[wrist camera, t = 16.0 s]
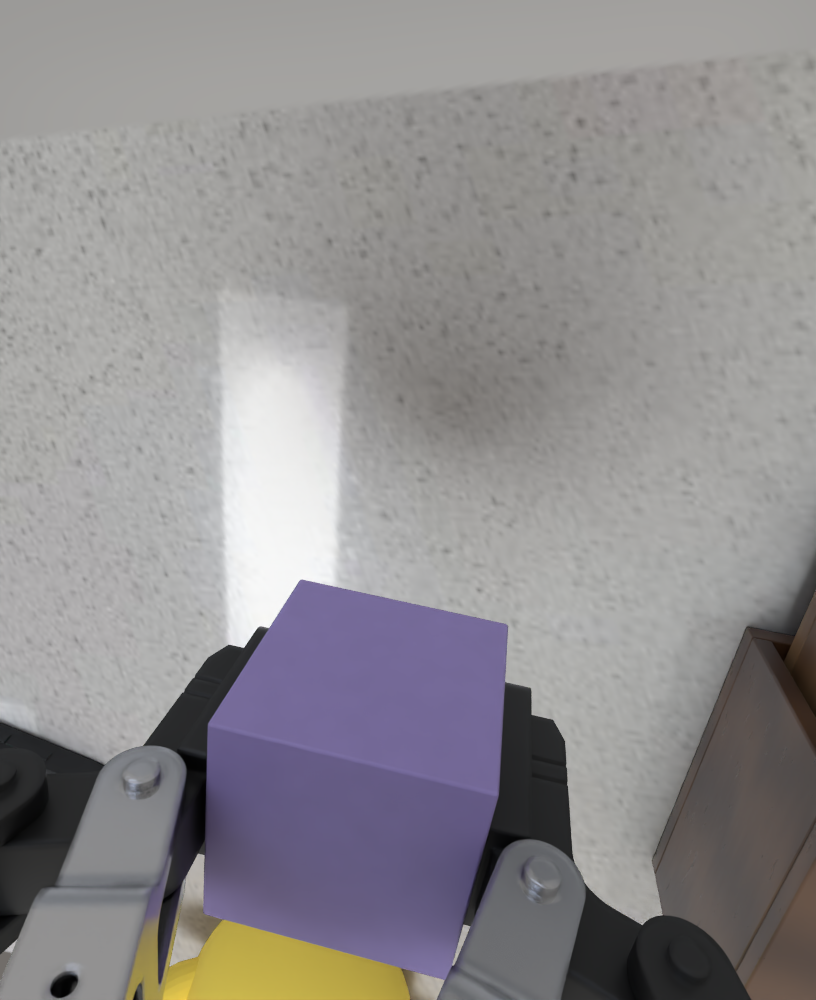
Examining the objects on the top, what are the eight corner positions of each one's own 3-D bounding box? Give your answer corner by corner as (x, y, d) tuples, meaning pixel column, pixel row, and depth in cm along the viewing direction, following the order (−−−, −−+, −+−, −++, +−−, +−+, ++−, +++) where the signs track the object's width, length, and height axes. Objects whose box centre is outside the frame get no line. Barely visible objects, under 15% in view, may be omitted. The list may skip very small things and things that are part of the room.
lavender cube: (300, 577, 13) (206, 723, 9) (508, 623, 13) (499, 795, 9) (285, 736, 15) (201, 915, 11) (469, 781, 14) (447, 982, 11)
